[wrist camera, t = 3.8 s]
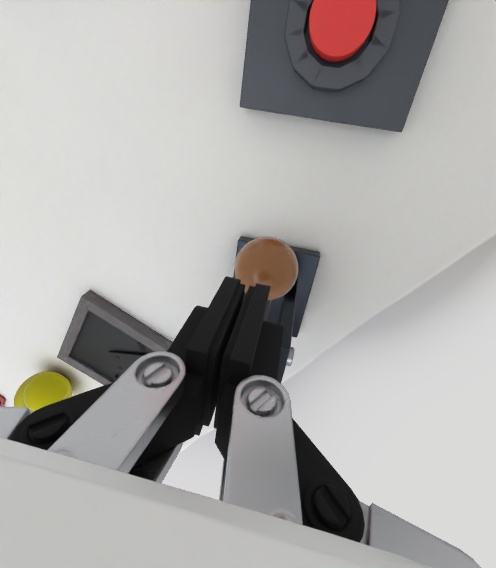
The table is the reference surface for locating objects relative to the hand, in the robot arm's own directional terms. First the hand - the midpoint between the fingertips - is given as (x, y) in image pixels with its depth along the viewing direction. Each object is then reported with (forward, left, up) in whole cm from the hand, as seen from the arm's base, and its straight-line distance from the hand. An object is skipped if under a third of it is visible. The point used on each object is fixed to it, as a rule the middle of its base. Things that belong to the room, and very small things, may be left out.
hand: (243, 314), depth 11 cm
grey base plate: (-1, -12, -19) cm, 22 cm away
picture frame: (+17, +25, -19) cm, 36 cm away
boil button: (-1, -12, -15) cm, 19 cm away
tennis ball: (+30, +34, -19) cm, 49 cm away
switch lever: (0, +4, -8) cm, 9 cm away
